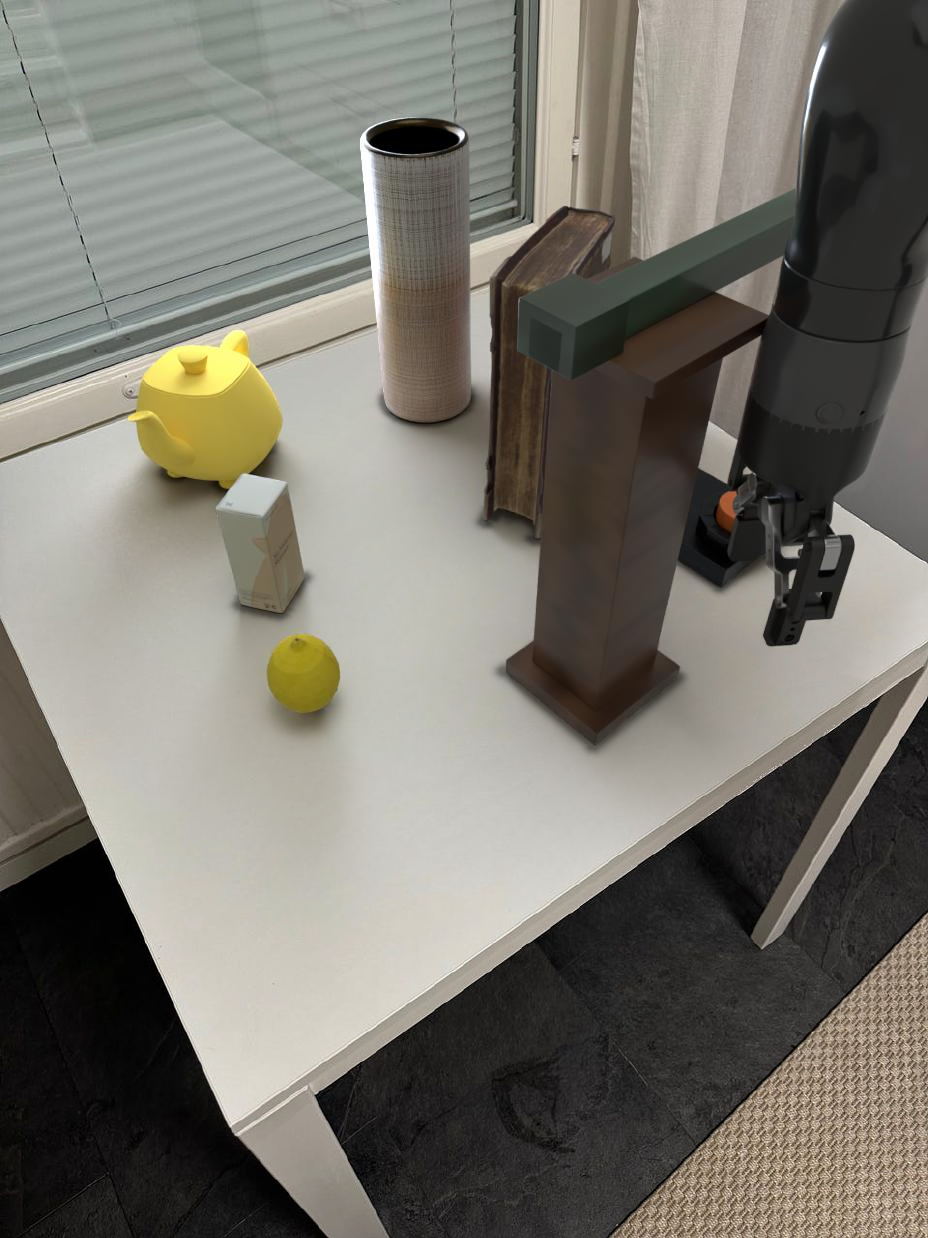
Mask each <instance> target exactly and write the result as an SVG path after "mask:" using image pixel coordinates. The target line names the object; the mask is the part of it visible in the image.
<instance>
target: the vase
mask: <svg viewBox="0 0 928 1238" xmlns="http://www.w3.org/2000/svg"><path fill="white" fill-rule="evenodd" d="M360 155H361V165H362V176H363V185H364V186H363V187H364V197H365V198H364V199H365V210H366V219H367V220H366V221H367V231H368V241H369V250H370V263H371V273H372V284H373V296H374V306H375V317H376V318H375V319H376V328H377V330H376V331H377V337H378V348H379V349H378V351H379V360H380V361H379V362H380V371H381V372H380V373H381V382H382V383H381V384H382V392H383V398H384V404H385V406H386V408H387V409H388V410H389V411H390V412H391V413H392V414H393V415H394V416H395V417H398V418H400V419H403V420H404V421H405V420H406V421H408V422H415V423H422V424H423V423H424V424H425V423H426V424H427V423H428V424H429V423H438V422H442V421H446V420H449V419H452V418H454V417H456V416H458V415H460V414H461V413H463V412H464V410H465V409H466V408H467V407H468V406H469V404H470V402H471V400H472V399H471V397H472V332H471V331H472V327H471V325H472V323H471V321H472V320H471V319H472V314H471V307H472V306H471V203H470V202H471V199H470V198H471V197H470V195H471V194H470V187H471V186H470V136H469V134H468V132H467V130H466V129H465V128H464V127H462V125H459V124H458V123H456V122H453V121H450V120H446V119H441V118H435V117H425V116H424V117H423V116H418V117H417V116H416V117H401V118H394V119H390V120H386V121H382V122H379V123H376V124H374V125H372V126H370V127H368V128H367V129H366V130H365V131H364V132H363V133H362V135H361V137H360Z"/></svg>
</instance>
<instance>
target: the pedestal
mask: <svg viewBox="0 0 928 1238" xmlns="http://www.w3.org/2000/svg"><path fill="white" fill-rule="evenodd" d="M644 260H645V259H641V258H639V257H637V256H634V257H631V258H629V259H626V260H625V261H623V262H620V263H618V264H617V265H614V266H612V267H609V268H608V270H606V271H604V272H602V273H599V274H597V275H595V276H593V277H591V278H589V279H587V280H589V281H591V282H593V283H595V284H596V283H598V282H600V281H602V280H604V279H606V278H608V277H610V276H613V275H615V274H617V273H619V272H621V271H623V270H625V269H627V268H629V267H631V266H634V265H636V264H638V263H640V262H642V261H644ZM768 317H769V314H767V313H765V312H762V311H761V310H758V309H755V308H754V307H751V306H749V305H746V304H744V303H742V302H739V301H737V300H735V299H733V298H731V297H728V296H726V295H724V294H722V293H719V292H718V291H716V292H714V293H712V294H710V295H708V296H706V297H704V298H703V299H701V300H699V301H697V302H695V303H693V304H691V305H689V306H687V307H686V308H684V309H682V310H680V311H678V312H676V313H674V314H672V315H670V316H669V317H667V318H665V319H663V320H661V321H659V322H657V323H655V324H653V325H652V326H650V327H648V328H646V329H644V330H642V331H640V332H638V333H636V334H635V335H633V336H631V337H629V338H627V339H625V342H624V350H623V353H622V354H620V355H618V356H616V357H614V358H612V359H611V360H609V361H607V362H605V363H603V364H601V365H599V366H598V367H596V368H594V369H592V370H590V371H588V372H586V373H585V374H583V375H581V376H579V377H577V378H575V379H573V380H569V379H567V378H565V377H564V376H562V375H560V374H558V373H556V372H555V371H553V370H552V381H551V395H550V410H549V424H548V439H547V453H546V468H545V482H544V497H543V511H542V526H541V536H540V540H539V542H540V543H539V555H538V569H537V585H536V602H535V615H534V627H533V628H534V629H533V640H532V641H530V642H529V643H528V644H526V645H525V646H524V647H522V648H521V649H519V650H517V652H515V653H513V654H512V655H511V656H509V657H508V658H506V659H505V673H507V674H508V675H509V676H511V677H512V678H513V679H514V680H515V681H516V682H518V683H519V684H520V685H521V686H523V687H524V688H525V689H526V690H527V691H528V692H529V693H531V694H532V695H533V696H534V697H536V698H537V699H538V700H539V701H540V702H542V703H543V704H544V705H545V706H547V707H548V708H549V709H550V710H552V711H553V713H555V714H556V715H557V716H559V717H560V718H561V719H562V720H563V721H565V722H566V723H568V725H570V726H571V727H572V728H573V729H574V730H575V731H576V732H578V733H579V734H580V735H582V736H583V738H584V739H586V740H587V741H589V742H590V743H591V744H592V745H593V746H596V745H597V744H599V743H600V742H601V741H602V740H603V739H604V738H605V737H607V736H608V735H610V734H611V733H612V732H613V731H614V730H616V729H617V728H618V727H619V726H621V725H622V724H623V723H624V722H626V720H628V719H629V718H630V717H631V716H633V715H634V714H635V713H636V712H637V711H639V710H640V709H641V708H643V707H644V706H645V705H646V704H647V703H648V702H650V701H651V700H652V699H653V698H655V697H656V696H657V695H658V694H660V693H661V692H662V691H663V690H664V689H666V688H667V687H668V686H670V685H671V684H672V683H673V682H674V681H676V680H677V679H678V677H679V673H680V669H681V666H680V665H679V664H678V663H676V662H675V661H674V660H673V659H671V658H670V657H668V656H667V655H665V654H664V653H662V652H661V651H660V650H658V649H659V645H660V640H661V635H662V631H663V627H664V623H665V617H666V614H667V609H668V605H669V600H670V595H671V591H672V587H673V582H674V578H675V572H676V569H677V564H678V556H679V551H680V547H681V543H682V538H683V534H684V529H685V525H686V520H687V516H688V512H689V507H690V503H691V498H692V494H693V489H694V485H695V480H696V476H697V472H698V468H700V467H699V466H700V463H701V459H702V458H701V457H702V454H703V449H704V444H705V440H706V436H707V433H708V432H707V431H708V427H709V422H710V417H711V415H712V414H711V413H712V409H713V405H714V400H715V396H716V391H717V388H718V382H719V378H720V374H721V369H722V366H723V365H722V364H723V362H724V361H723V360H724V358H725V357H727V356H728V355H729V356H730V354H732V353H734V352H736V351H737V350H739V349H741V348H742V347H744V346H746V345H748V344H750V343H751V342H753V341H754V340H756V339H758V338H759V337H761V335H762V333H763V330H764V327H765V325H766V322H767V320H768Z"/></svg>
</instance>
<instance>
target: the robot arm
mask: <svg viewBox="0 0 928 1238" xmlns="http://www.w3.org/2000/svg"><path fill="white" fill-rule="evenodd" d="M818 46H819V47H818V49H817V52H816V56H815V58H814V62H813V66H812V69H811V73H810V76H809V77H810V78H809V82H808V86H807V91H806V94H805V95H806V96H805V100H804V101H805V102H804V106H803V113H802V120H801V126H800V137H799V147H798V158H797V169H796V182H795V188H796V197H795V216H794V220H793V224H792V227H791V230H790V233H789V236H788V240H787V244H786V248H785V251H784V255H783V256H782V260H781V265H780V270H779V272H778V273H779V274H778V278H777V283H776V286H775V290H774V295H773V301H772V304H771V308H770V311H769V314H768V315H769V317H768V320H767V322H766V325H765V327H764V330H763V333H762V335H761V336H760V339H759V341H758V346H757V350H756V354H755V359H754V363H753V368H752V373H751V377H750V382H749V386H748V390H747V395H746V401H745V403H744V409H743V413H742V418H741V422H740V427H739V430H738V435H737V441H736V444H735V449H734V453H733V457H732V461H731V464H730V468H729V472H728V476H727V480H726V484H727V486H728V489H729V491H730V492H735V491H736V493H737V496H736V497H735V498H734V500H733V504H732V507H733V511H734V513H735V514H737V515H736V516H735V521H734V525H733V529H732V533H731V538H730V542H729V546H728V550H727V553H728V555H729V557H730V560H731V561H734V562H736V561H752V560H756V559H758V558H759V557H760V554H761V551H762V547H763V543H764V540H765V536H766V555H765V565H766V567H767V568H768V569H769V570H770V571H772V572H773V575H774V576H773V581H774V583H773V584H774V587H773V588H774V590H773V591H774V593H773V594H774V597H773V599H772V602H771V606H770V609H769V612H768V615H767V618H766V623H765V625H764V629H763V632H762V638H763V641H764V642H765V645H766V646H767V647H771V648H772V647H788V646H794V645H798V644H799V642H800V640H801V637H802V634H803V631H804V628H805V625H806V624H807V623H806V622H807V621H808V622H809V621H824V620H825V621H826V620H832V619H833V618H834V615H835V612H836V609H837V606H838V602H839V600H840V596H841V594H842V590H843V587H844V584H845V580H846V577H847V574H848V571H849V569H850V565H851V562H852V559H853V556H854V553H855V548H856V544H855V543H856V542H855V538H854V536H853V535H852V534H849V533H847V534H836V533H835V531H834V530H833V528H832V527H831V525H832V522H833V515H834V514H833V513H834V512H833V511H834V502H835V497H836V496H837V495H838V494H839V493H840V492H841V491H843V490H844V489H845V488H847V487H848V486H849V485H851V484H853V483H854V482H856V481H857V480H858V479H860V478H861V476H862V475H863V474H864V473H865V472H866V470H867V468H868V465H869V463H870V460H871V457H872V454H873V451H874V450H875V449H874V448H875V445H876V443H877V440H878V437H879V434H880V431H881V428H882V426H883V423H884V420H885V417H886V414H887V412H888V409H889V406H890V403H891V400H892V397H893V395H894V392H895V388H896V386H897V383H898V381H899V378H900V374H901V372H902V368H903V365H904V361H905V358H906V357H905V356H906V352H907V345H908V339H909V336H910V331H911V329H912V324H913V321H914V319H915V317H916V316H915V315H916V314H917V313H916V312H917V310H918V307H919V304H920V301H921V298H922V296H923V292H924V290H925V287H926V284H927V281H928V0H844V1H842V3H841V4H840V5H839V7H838V8H837V10H836V12H835V13H834V14H833V16H832V18H831V20H830V22H829V24H828V25H827V27H826V30H825V31H824V34H823V35H822V39H821V42H820V44H819V45H818ZM746 468H747V469H748V470H749V471H750V472H751V473H744V471H745V469H746ZM800 546H802V548H799V549H798V550H797V556H784V555H783V553H782V548H783V547H784V548H787V547H800ZM760 558H761V557H760ZM760 558H759V559H760ZM759 559H758V560H759ZM756 561H757V560H756ZM792 571H795V573H794V576H793V580H792V584H791V587H790V573H791V572H792Z"/></svg>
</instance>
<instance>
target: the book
mask: <svg viewBox="0 0 928 1238" xmlns="http://www.w3.org/2000/svg"><path fill="white" fill-rule="evenodd" d="M615 222H616V217H615V214H609V213H607V212H605V211H602V210H596V209H589V208H580V207H579V208H577V207H573V206H567V205H562V206H561V207H559V208H558V209H557V210H556V211H554V212H553V213H552V214H551V215H550V216H549V217H547V218H546V219H545V222H544V223H543V224H542V225H541V226H540V227H539V228H538V229H537V230H536V231H535V232H533V234H532V235H530V236H529V237H528V238H527V239H526V241H525V242H524V243H522V244H521V245H520V246H519V248H518V249H517V250H516V251H515V252H514V253H513V254H512V255H509V256H506V258H505V259H504V260H502V262H501V263H500V264H499V265H498V267H497V268H496V269H495V270H494V271H493V272H492V274H491V275H490V276H489V318H490V319H489V320H490V326H491V339H490V342H489V352H490V355H491V356H490V358H491V368H490V371H491V372H490V391H489V392H490V393H489V417H488V419H489V421H488V422H489V424H488V448H487V458H486V462H485V463H484V464H485V470H486V484H485V487H484V492H483V510H482V512H483V513H482V518H483V520H484V521H488V520H489V519H490V518H491V516H492V515H493V514H494V512H495V511H497V510H498V509H501V510H507V511H509V512H513V513H515V514H518V515H521V516H524V518H525V517H526V518H527V519H528V520H529V519H530V520H531V521H532V522H533V523H532V524H533V526H534V530H533V537H534V538H535V539H541V526H542V511H543V497H544V482H545V468H546V453H547V439H548V424H549V410H550V395H551V381H552V370H551V369H549V368H548V367H546V366H544V365H542V364H540V363H539V362H537V361H535V360H533V359H531V358H530V357H528V356H526V355H524V354H522V353H521V352H519V351H517V341H518V313H519V298H520V297H522V296H524V295H527V294H529V293H531V292H533V291H535V290H537V289H540V288H542V287H544V286H546V285H548V284H550V283H553V282H555V281H557V280H559V279H561V278H563V277H566V276H568V275H570V274H572V273H574V274H576V275H578V276H580V277H582V278H585V279H589V278H591V277H593V276H595V275H597V274H599V273H602V272H604V271H606V270H608V269H610V268H611V265H612V261H611V253H612V243H613V237H614V232H615V231H614V230H615Z"/></svg>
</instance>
